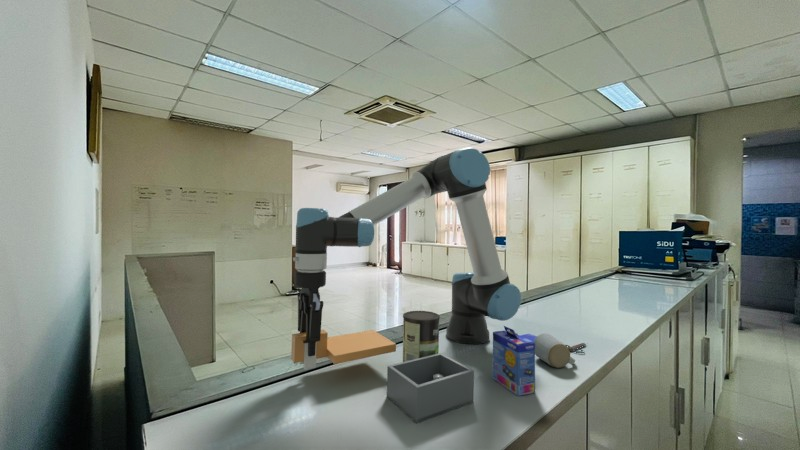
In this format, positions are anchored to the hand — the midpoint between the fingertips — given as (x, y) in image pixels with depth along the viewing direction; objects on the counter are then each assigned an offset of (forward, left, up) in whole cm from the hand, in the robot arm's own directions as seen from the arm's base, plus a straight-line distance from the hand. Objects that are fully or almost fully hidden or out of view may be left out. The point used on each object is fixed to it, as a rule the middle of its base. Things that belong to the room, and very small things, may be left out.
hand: (307, 365), depth 80 cm
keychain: (-82, +21, -5) cm, 85 cm away
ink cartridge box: (-43, +27, -4) cm, 51 cm away
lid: (-9, 0, +2) cm, 9 cm away
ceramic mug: (-66, +24, -4) cm, 70 cm away
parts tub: (-21, +22, -4) cm, 31 cm away
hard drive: (-74, +9, -5) cm, 74 cm away
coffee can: (-30, +6, -4) cm, 31 cm away
